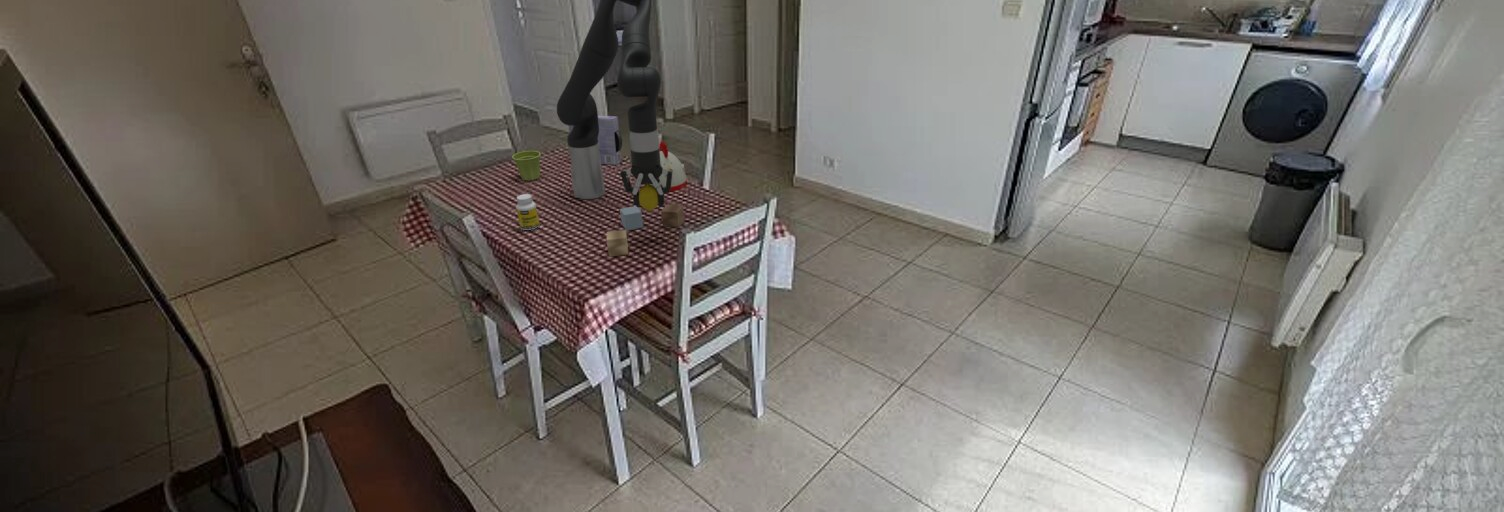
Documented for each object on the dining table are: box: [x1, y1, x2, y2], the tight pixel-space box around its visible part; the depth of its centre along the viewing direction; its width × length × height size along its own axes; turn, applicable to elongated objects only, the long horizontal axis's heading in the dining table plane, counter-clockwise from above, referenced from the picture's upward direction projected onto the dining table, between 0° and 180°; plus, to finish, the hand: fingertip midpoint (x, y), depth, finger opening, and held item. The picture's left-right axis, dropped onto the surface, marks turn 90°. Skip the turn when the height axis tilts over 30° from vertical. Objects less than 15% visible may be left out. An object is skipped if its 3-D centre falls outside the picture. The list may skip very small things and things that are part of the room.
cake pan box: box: [568, 115, 623, 166], centre depth 221 cm, size 19×5×18 cm, turn 79°
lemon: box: [638, 184, 659, 212], centre depth 162 cm, size 6×6×8 cm
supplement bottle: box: [515, 193, 541, 231], centre depth 173 cm, size 5×5×10 cm
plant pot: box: [511, 150, 541, 181], centre depth 209 cm, size 9×9×9 cm
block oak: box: [606, 229, 629, 257], centre depth 160 cm, size 5×5×5 cm
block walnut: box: [660, 203, 685, 229], centre depth 174 cm, size 5×5×5 cm
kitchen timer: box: [650, 140, 688, 192], centre depth 200 cm, size 14×14×15 cm
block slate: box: [619, 205, 644, 232], centre depth 174 cm, size 5×5×5 cm
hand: (649, 205), depth 163 cm, fingers closed on lemon, 5 cm apart
